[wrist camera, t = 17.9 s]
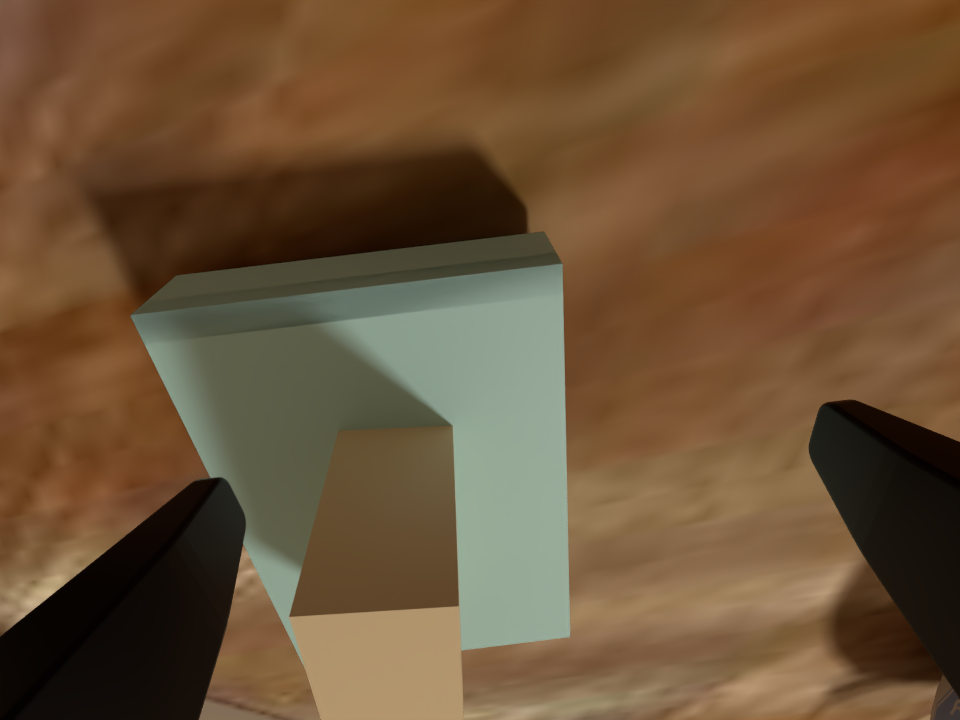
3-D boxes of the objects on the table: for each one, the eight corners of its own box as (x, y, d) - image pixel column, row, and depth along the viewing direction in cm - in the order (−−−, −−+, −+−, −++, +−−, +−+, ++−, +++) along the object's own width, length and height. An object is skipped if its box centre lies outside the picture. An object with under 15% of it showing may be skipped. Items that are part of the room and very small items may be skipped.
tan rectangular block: (452, 425, 19) (459, 606, 13) (459, 601, 24) (466, 790, 18) (338, 430, 18) (288, 616, 12) (370, 607, 23) (346, 799, 17)
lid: (544, 231, 18) (562, 263, 16) (557, 579, 28) (569, 637, 26) (176, 275, 18) (130, 315, 16) (318, 609, 28) (305, 669, 26)
